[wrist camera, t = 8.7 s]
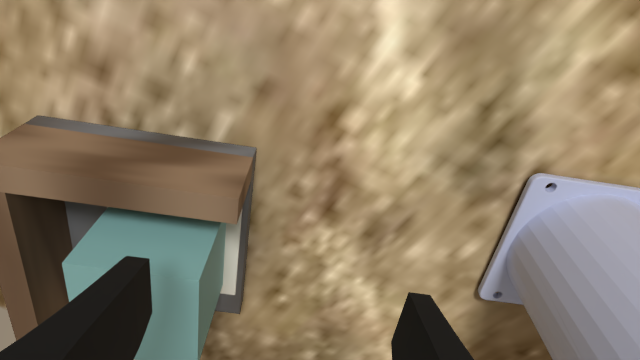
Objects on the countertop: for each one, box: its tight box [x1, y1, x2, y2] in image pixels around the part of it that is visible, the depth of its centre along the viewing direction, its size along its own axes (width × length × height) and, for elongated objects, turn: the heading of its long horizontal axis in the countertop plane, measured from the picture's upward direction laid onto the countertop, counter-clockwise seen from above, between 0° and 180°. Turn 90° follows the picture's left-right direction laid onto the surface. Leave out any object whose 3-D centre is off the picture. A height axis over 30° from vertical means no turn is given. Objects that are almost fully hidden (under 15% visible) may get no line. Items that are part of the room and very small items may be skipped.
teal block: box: [62, 207, 226, 360], centre depth 19 cm, size 5×5×5 cm
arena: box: [0, 116, 256, 341], centre depth 20 cm, size 10×10×4 cm
